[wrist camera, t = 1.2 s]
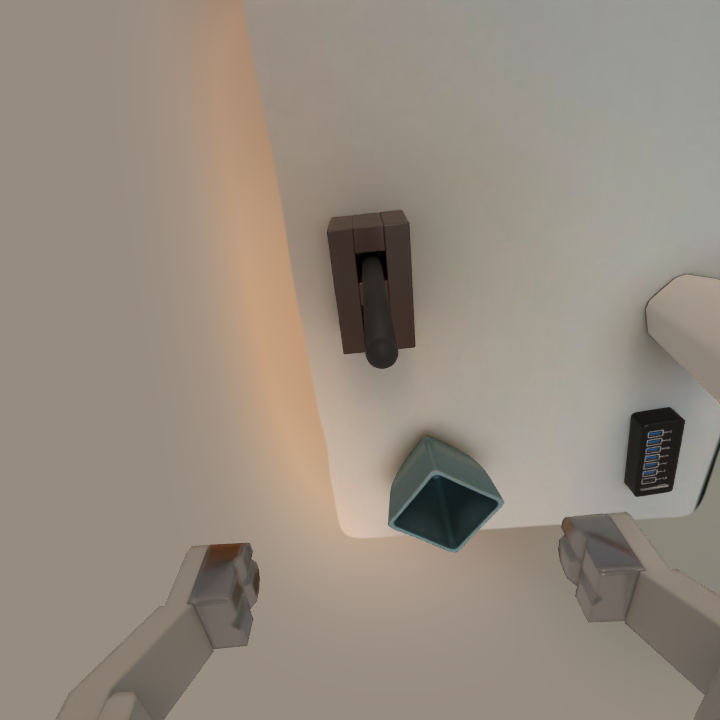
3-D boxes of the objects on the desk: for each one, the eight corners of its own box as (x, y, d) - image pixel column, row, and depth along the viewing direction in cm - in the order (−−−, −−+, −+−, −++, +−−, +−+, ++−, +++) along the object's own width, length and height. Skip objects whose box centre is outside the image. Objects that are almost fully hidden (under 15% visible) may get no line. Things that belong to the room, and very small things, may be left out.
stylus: (357, 251, 40) (359, 363, 20) (367, 237, 39) (379, 338, 20) (371, 261, 40) (385, 380, 21) (381, 247, 40) (406, 356, 20)
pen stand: (345, 327, 43) (343, 354, 38) (330, 217, 38) (326, 231, 33) (408, 321, 43) (415, 347, 38) (401, 209, 38) (409, 222, 33)
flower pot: (421, 415, 49) (433, 469, 41) (483, 445, 51) (507, 502, 43) (381, 467, 52) (386, 526, 44) (441, 493, 54) (455, 554, 46)
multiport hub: (672, 406, 48) (686, 418, 46) (660, 478, 53) (672, 492, 51) (631, 413, 49) (643, 425, 47) (624, 483, 54) (634, 497, 52)
